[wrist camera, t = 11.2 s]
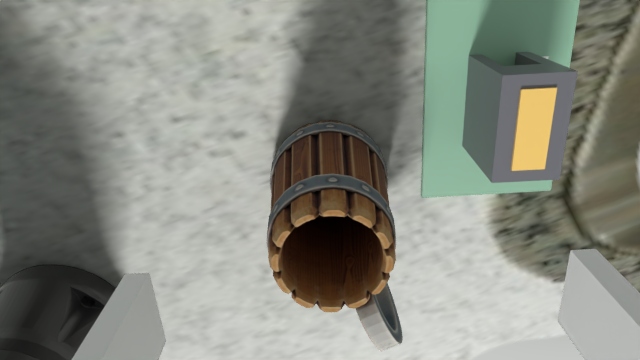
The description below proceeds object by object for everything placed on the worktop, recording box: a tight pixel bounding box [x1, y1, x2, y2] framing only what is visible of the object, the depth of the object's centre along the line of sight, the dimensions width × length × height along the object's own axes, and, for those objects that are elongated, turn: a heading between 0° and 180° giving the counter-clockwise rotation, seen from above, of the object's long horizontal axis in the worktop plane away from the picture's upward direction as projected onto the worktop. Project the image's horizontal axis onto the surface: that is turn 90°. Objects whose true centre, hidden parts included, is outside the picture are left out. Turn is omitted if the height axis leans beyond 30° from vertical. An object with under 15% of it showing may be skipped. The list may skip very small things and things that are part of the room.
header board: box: [421, 0, 580, 198], centre depth 39 cm, size 12×18×5 cm, turn 4°
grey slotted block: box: [462, 52, 578, 183], centre depth 37 cm, size 5×8×8 cm, turn 3°
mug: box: [267, 121, 402, 351], centre depth 38 cm, size 16×11×15 cm
